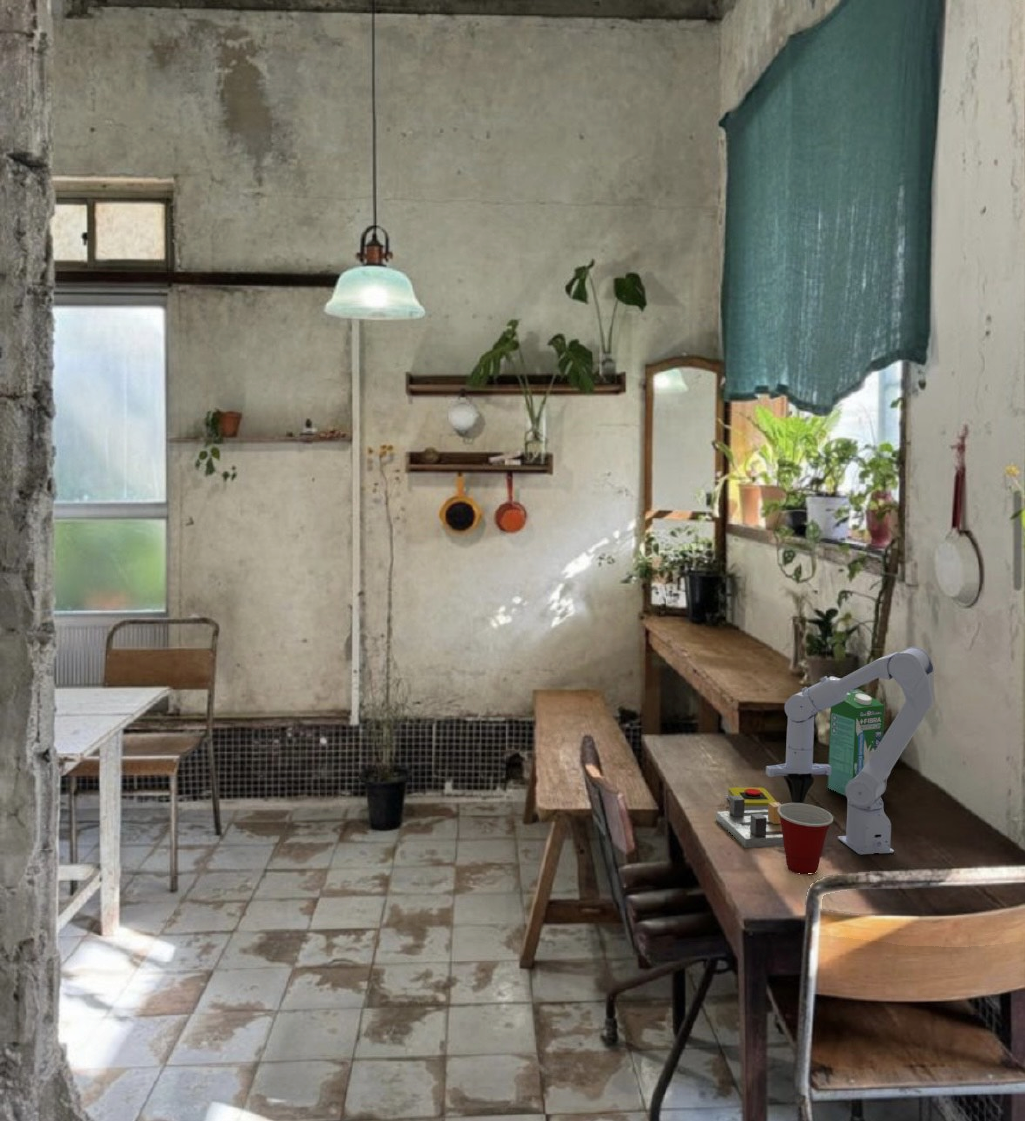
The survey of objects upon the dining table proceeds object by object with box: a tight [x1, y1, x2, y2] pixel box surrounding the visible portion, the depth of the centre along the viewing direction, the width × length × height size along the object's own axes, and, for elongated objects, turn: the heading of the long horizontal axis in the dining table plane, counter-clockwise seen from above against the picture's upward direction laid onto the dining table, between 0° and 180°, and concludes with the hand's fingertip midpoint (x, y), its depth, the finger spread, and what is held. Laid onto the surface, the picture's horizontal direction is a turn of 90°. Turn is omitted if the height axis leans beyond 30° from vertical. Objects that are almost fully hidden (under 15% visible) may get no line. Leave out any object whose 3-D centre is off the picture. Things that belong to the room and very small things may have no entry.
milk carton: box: [827, 688, 885, 797], centre depth 245 cm, size 9×9×25 cm
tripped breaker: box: [768, 801, 782, 824], centre depth 217 cm, size 3×2×4 cm
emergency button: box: [725, 787, 777, 811], centre depth 234 cm, size 9×4×15 cm
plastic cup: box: [777, 802, 834, 875], centre depth 195 cm, size 11×11×12 cm
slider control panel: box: [716, 796, 784, 849], centre depth 216 cm, size 17×14×6 cm
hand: (797, 806), depth 217 cm, fingers closed
